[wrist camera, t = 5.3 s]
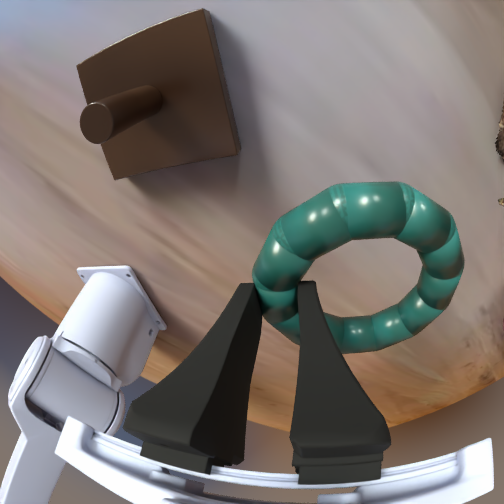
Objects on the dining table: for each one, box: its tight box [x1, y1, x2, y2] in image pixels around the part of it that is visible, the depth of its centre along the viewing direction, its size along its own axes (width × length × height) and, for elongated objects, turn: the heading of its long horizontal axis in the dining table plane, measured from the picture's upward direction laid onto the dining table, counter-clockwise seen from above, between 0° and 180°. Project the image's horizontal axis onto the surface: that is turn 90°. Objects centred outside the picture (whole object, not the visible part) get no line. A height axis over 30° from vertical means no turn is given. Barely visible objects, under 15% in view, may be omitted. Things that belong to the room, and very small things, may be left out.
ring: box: [252, 182, 464, 354], centre depth 11 cm, size 10×10×2 cm
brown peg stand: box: [77, 8, 241, 180], centre depth 12 cm, size 9×9×6 cm
